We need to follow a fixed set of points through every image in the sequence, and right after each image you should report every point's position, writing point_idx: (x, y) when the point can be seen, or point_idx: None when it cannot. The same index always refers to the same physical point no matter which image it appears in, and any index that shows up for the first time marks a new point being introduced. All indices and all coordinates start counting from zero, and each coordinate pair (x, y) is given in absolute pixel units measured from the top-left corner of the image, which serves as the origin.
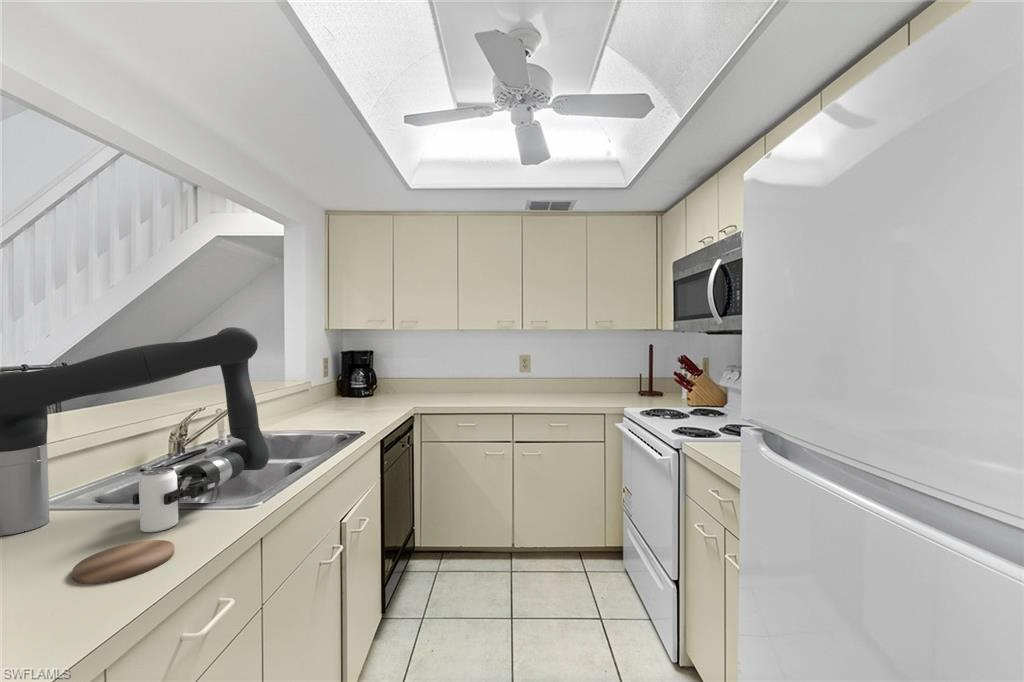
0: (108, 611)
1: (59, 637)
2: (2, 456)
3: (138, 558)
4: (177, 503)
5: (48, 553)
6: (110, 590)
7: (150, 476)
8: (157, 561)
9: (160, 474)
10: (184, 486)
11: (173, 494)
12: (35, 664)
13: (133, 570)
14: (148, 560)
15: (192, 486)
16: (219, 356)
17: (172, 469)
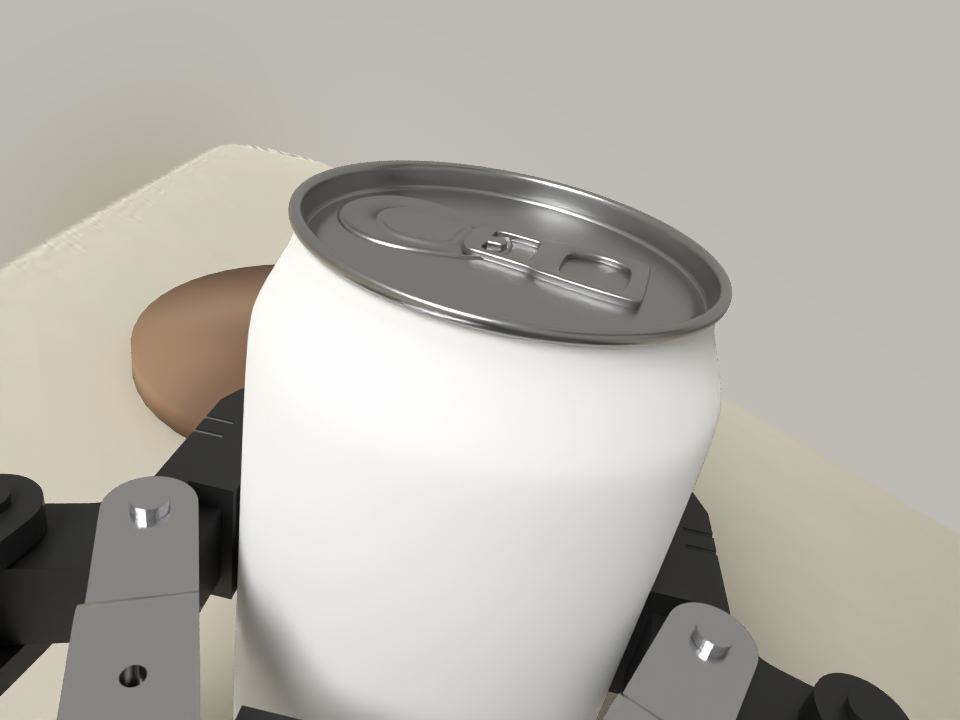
0: (233, 204)
1: (292, 183)
2: None
3: None
4: (236, 657)
5: (802, 522)
6: (280, 256)
7: (487, 193)
8: (176, 288)
9: (391, 178)
10: (133, 494)
11: (233, 410)
12: (287, 158)
13: (245, 269)
14: (215, 297)
15: (6, 492)
16: None
17: (355, 295)
